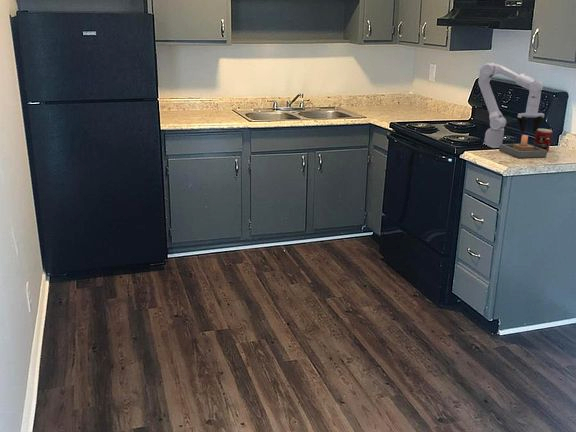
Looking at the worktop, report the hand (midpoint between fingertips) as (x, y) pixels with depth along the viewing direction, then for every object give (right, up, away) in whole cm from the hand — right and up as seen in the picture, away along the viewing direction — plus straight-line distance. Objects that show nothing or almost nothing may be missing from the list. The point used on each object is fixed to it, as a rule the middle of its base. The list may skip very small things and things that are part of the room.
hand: (528, 131), depth 303 cm
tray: (-4, -12, -4) cm, 13 cm away
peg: (-4, -12, -4) cm, 13 cm away
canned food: (+9, -9, +6) cm, 15 cm away
